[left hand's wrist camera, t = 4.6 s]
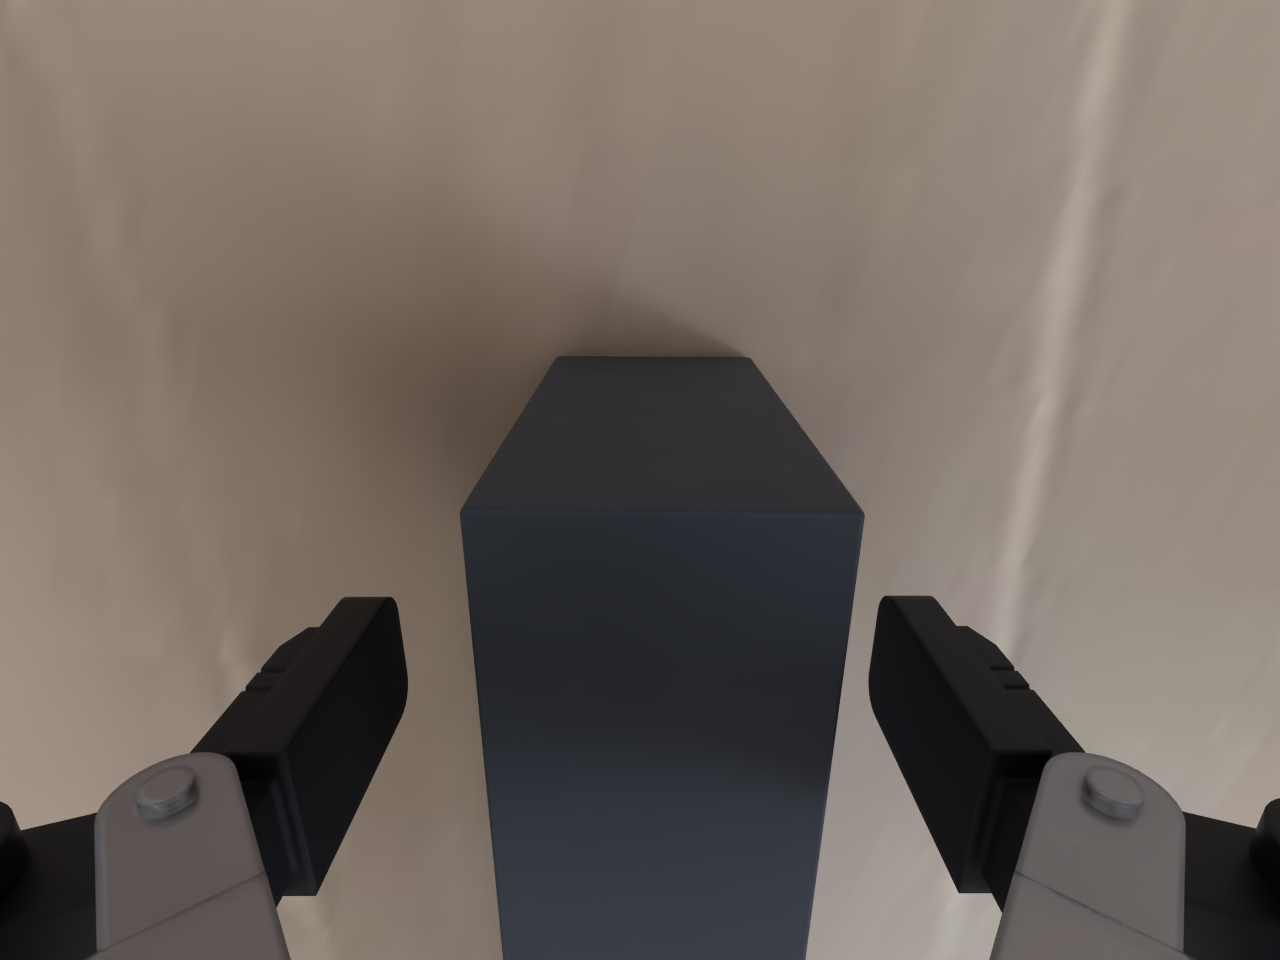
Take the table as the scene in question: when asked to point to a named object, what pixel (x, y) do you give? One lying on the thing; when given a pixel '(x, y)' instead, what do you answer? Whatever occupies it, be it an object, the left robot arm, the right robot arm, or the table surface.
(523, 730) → the bar
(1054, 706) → the table surface
